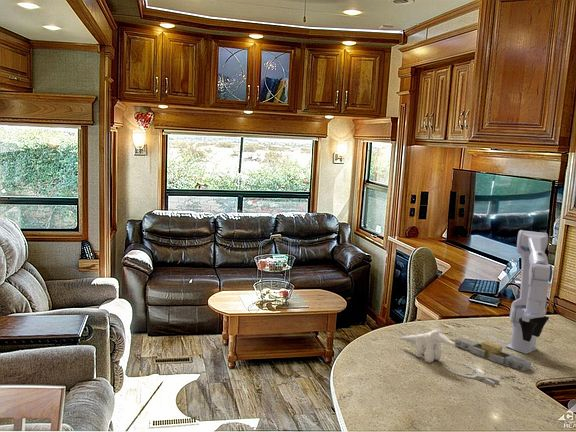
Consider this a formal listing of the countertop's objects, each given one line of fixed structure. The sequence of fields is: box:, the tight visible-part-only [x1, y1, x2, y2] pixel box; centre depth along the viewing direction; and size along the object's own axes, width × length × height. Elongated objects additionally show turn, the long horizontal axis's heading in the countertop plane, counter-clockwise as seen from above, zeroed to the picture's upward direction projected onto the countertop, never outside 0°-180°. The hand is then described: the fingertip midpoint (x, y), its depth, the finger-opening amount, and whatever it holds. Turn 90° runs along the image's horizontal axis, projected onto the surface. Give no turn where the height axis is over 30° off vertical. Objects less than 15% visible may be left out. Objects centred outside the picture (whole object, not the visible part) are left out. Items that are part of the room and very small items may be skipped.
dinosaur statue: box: [397, 328, 455, 363], centre depth 177 cm, size 7×24×11 cm, turn 36°
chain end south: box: [454, 336, 486, 358], centre depth 188 cm, size 6×12×2 cm, turn 40°
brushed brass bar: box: [481, 340, 503, 359], centre depth 182 cm, size 3×6×4 cm, turn 40°
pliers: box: [445, 362, 500, 387], centre depth 165 cm, size 10×2×15 cm
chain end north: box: [488, 350, 533, 373], centre depth 177 cm, size 6×12×2 cm, turn 40°
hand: (531, 338), depth 175 cm, fingers open, 7 cm apart
